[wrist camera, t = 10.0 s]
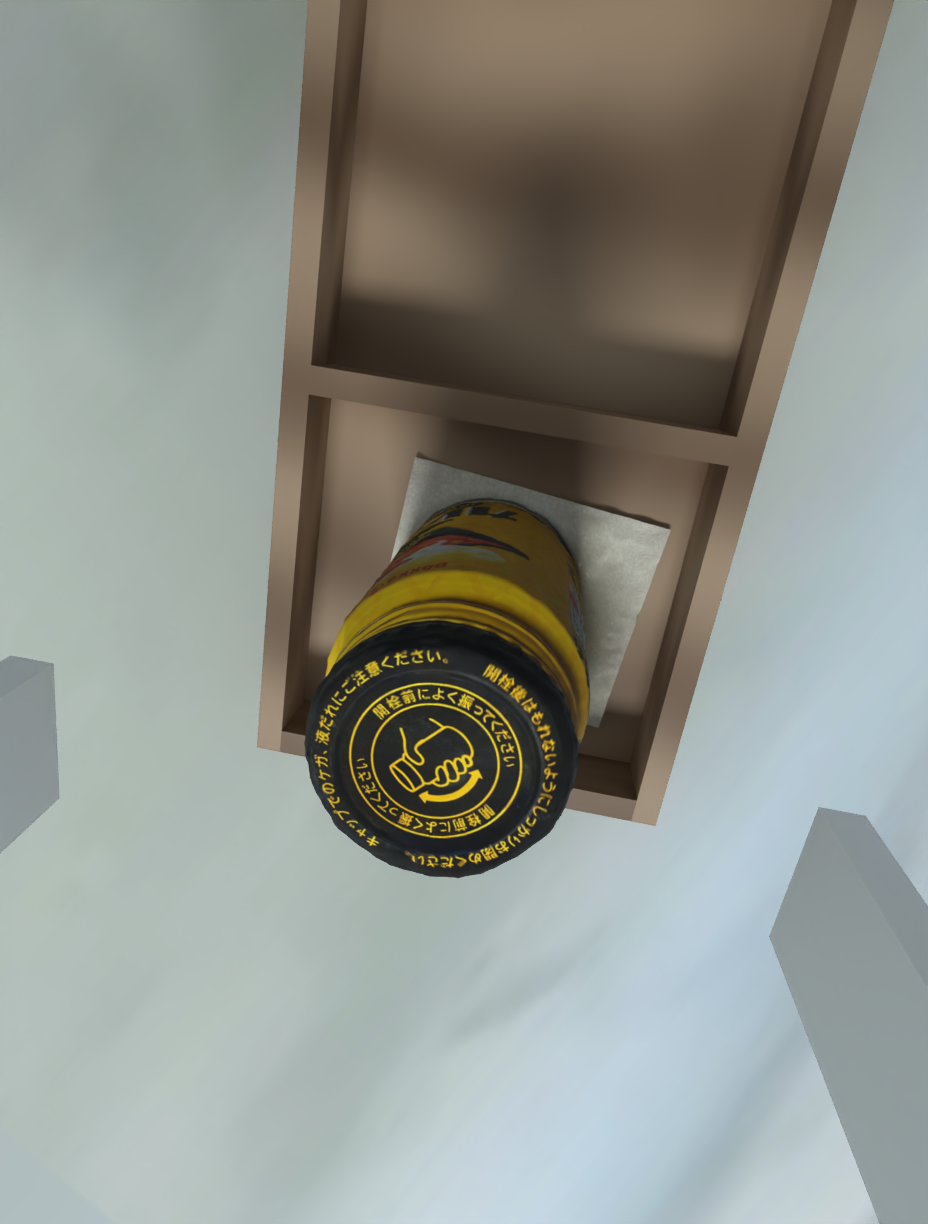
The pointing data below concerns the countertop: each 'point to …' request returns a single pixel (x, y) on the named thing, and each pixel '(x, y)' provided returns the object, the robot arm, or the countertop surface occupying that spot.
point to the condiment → (475, 671)
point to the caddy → (551, 300)
